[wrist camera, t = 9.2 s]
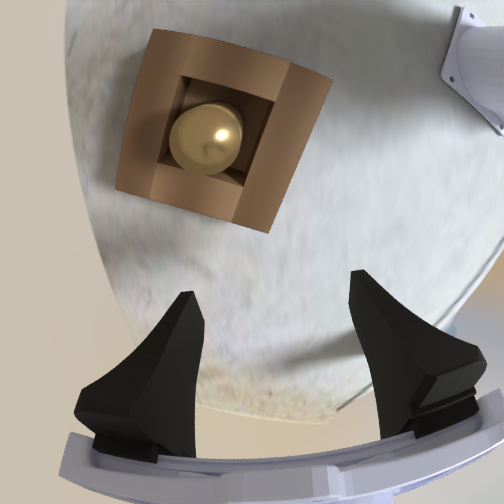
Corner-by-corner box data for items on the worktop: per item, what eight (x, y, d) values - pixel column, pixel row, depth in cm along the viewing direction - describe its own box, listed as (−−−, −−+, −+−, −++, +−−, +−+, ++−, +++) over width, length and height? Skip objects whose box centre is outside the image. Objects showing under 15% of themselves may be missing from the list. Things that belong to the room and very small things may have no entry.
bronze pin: (247, 103, 16) (246, 111, 11) (240, 150, 18) (235, 179, 13) (197, 97, 16) (172, 103, 11) (191, 144, 18) (166, 171, 13)
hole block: (318, 80, 16) (333, 79, 13) (265, 209, 21) (268, 233, 18) (170, 37, 14) (153, 28, 11) (134, 171, 19) (114, 189, 16)
